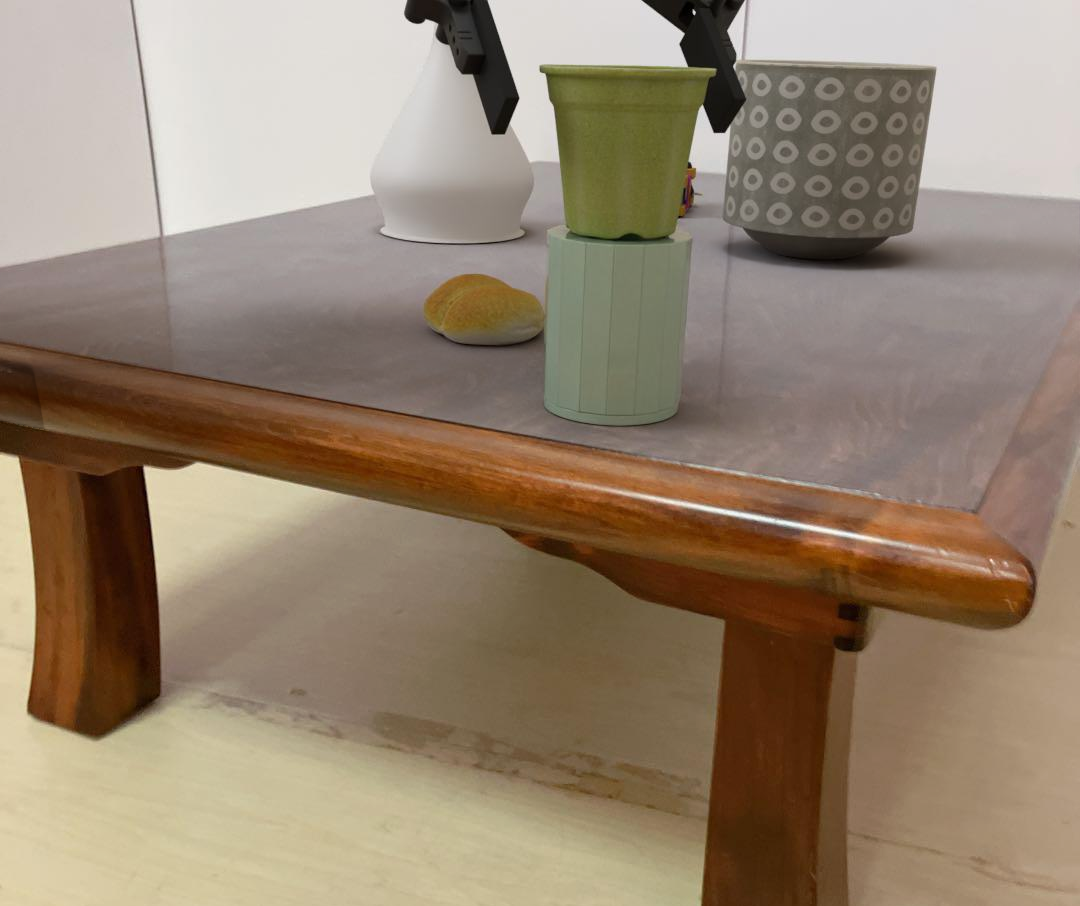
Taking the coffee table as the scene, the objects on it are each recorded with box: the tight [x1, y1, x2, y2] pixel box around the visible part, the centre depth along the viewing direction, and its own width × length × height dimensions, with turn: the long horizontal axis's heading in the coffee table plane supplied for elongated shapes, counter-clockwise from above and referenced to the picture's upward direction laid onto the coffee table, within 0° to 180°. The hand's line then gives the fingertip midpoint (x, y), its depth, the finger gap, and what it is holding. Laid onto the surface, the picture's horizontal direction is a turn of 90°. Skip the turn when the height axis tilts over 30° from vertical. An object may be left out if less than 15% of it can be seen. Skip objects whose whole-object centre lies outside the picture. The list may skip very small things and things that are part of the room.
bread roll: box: [422, 273, 545, 346], centre depth 85 cm, size 8×9×4 cm
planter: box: [722, 59, 938, 261], centre depth 118 cm, size 19×19×18 cm
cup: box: [542, 224, 693, 427], centre depth 68 cm, size 8×8×10 cm
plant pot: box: [538, 63, 716, 239], centre depth 64 cm, size 9×9×9 cm
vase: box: [369, 22, 535, 244], centre depth 123 cm, size 17×17×25 cm
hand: (622, 117), depth 63 cm, fingers open, 13 cm apart
